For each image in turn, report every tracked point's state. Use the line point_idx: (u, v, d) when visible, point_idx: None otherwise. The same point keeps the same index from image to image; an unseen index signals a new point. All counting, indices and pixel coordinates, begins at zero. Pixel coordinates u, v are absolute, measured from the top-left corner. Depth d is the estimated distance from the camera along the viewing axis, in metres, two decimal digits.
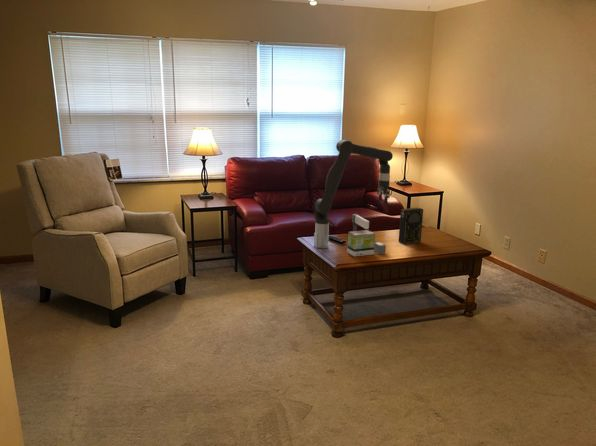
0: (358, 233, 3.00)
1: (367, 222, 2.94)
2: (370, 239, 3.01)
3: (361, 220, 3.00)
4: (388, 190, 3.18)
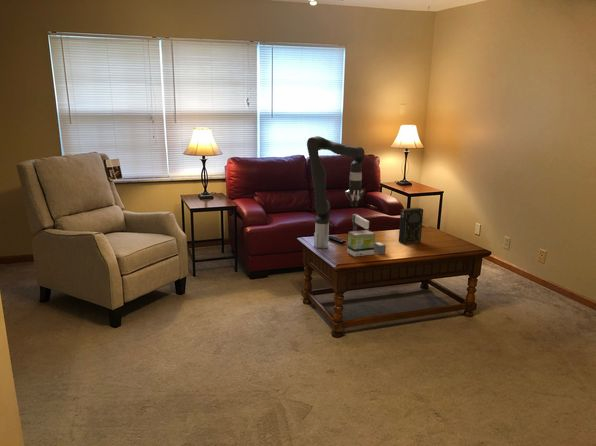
0: (358, 233, 3.00)
1: (367, 222, 2.94)
2: (370, 239, 3.01)
3: (361, 220, 3.00)
4: None
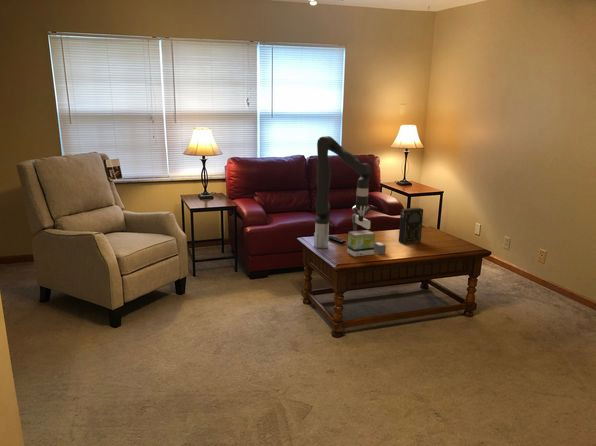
0: (358, 233, 3.00)
1: (368, 222, 2.94)
2: (370, 239, 3.01)
3: None
4: None
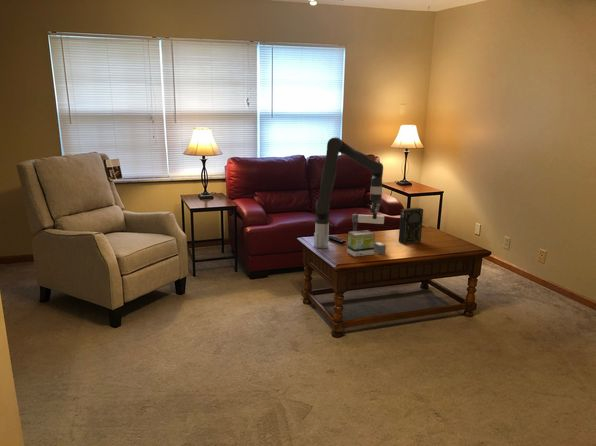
0: (358, 233, 3.00)
1: None
2: (370, 239, 3.01)
3: None
4: None
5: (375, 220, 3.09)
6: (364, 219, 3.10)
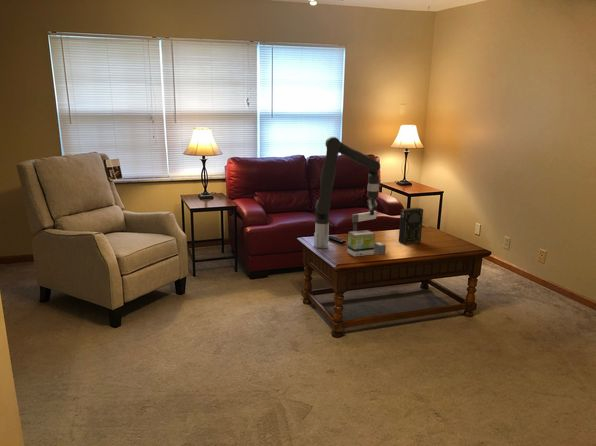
0: (358, 233, 3.00)
1: None
2: (370, 239, 3.01)
3: (369, 214, 3.17)
4: None
5: (370, 216, 3.19)
6: (363, 217, 3.14)
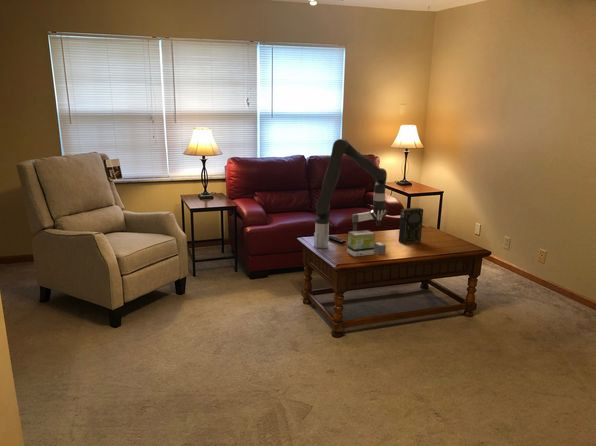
0: (358, 233, 3.00)
1: None
2: (370, 239, 3.01)
3: (369, 214, 3.17)
4: None
5: (370, 216, 3.19)
6: (362, 217, 3.14)
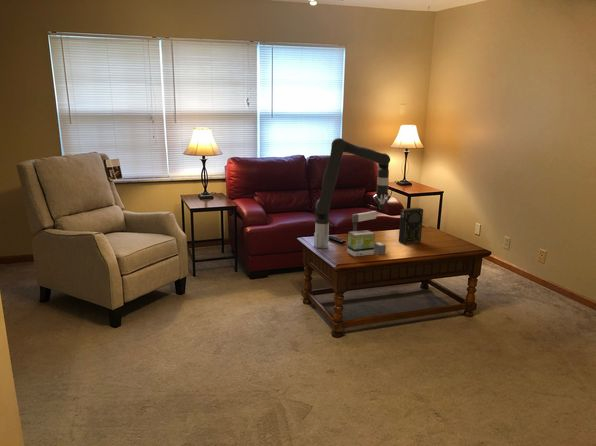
0: (358, 233, 3.00)
1: None
2: (370, 239, 3.01)
3: (369, 214, 3.17)
4: None
5: (370, 216, 3.19)
6: (362, 217, 3.14)
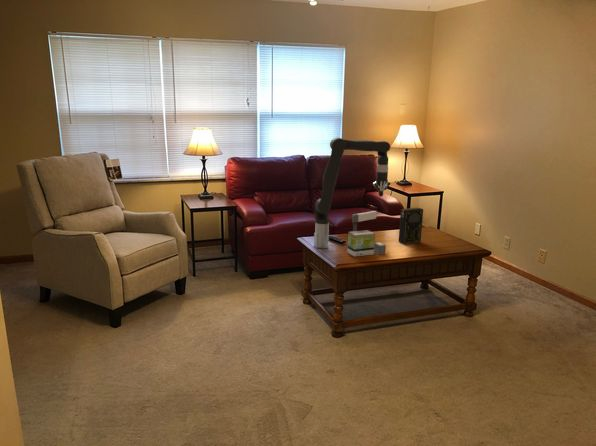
0: (358, 233, 3.00)
1: None
2: (370, 239, 3.01)
3: (369, 214, 3.17)
4: None
5: (370, 216, 3.19)
6: (362, 217, 3.14)
